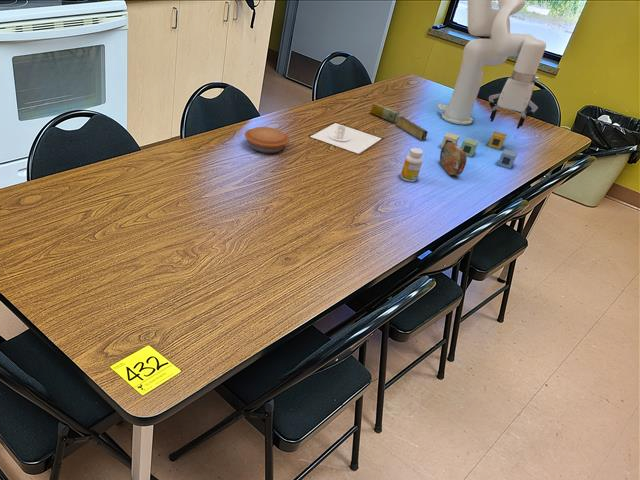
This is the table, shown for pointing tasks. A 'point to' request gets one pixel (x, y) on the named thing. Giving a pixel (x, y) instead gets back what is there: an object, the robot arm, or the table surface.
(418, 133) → the decorative block
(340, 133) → the teacup and saucer
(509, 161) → the blue-grey block
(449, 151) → the tin
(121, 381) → the table surface
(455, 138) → the cream block
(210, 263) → the table surface
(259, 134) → the pie
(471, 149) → the sage block
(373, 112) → the medication box
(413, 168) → the supplement bottle
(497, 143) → the mustard block
